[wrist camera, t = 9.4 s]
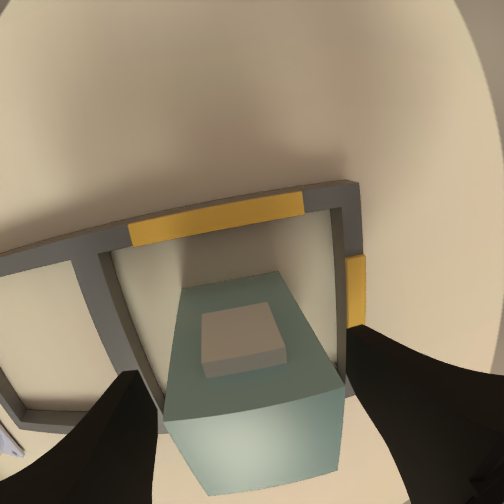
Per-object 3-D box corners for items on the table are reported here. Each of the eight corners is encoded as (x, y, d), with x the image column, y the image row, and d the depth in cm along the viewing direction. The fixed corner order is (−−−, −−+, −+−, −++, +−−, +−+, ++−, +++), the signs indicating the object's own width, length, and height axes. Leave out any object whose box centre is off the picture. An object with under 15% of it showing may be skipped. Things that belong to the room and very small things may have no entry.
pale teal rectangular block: (203, 364, 13) (208, 496, 7) (178, 277, 12) (154, 407, 5) (287, 348, 14) (337, 470, 7) (276, 259, 12) (346, 370, 6)
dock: (25, 417, 13) (18, 431, 12) (-51, 270, 10) (-66, 280, 9) (350, 380, 15) (360, 396, 14) (345, 179, 12) (361, 183, 10)
